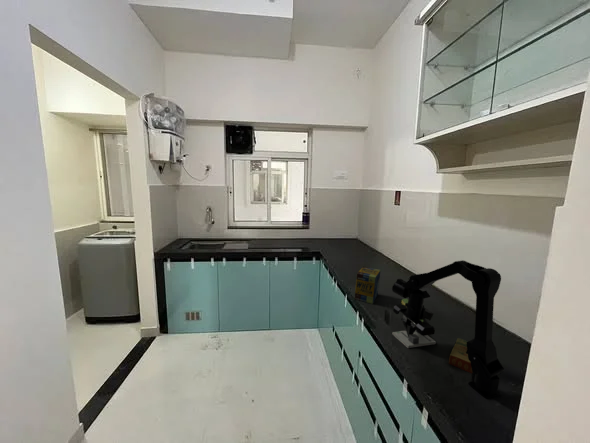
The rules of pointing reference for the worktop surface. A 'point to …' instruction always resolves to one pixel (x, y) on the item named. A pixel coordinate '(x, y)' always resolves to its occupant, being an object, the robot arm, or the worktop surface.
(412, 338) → the breaker
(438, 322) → the worktop surface
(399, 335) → the breaker board
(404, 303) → the edible corn
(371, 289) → the protein box
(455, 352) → the carton
